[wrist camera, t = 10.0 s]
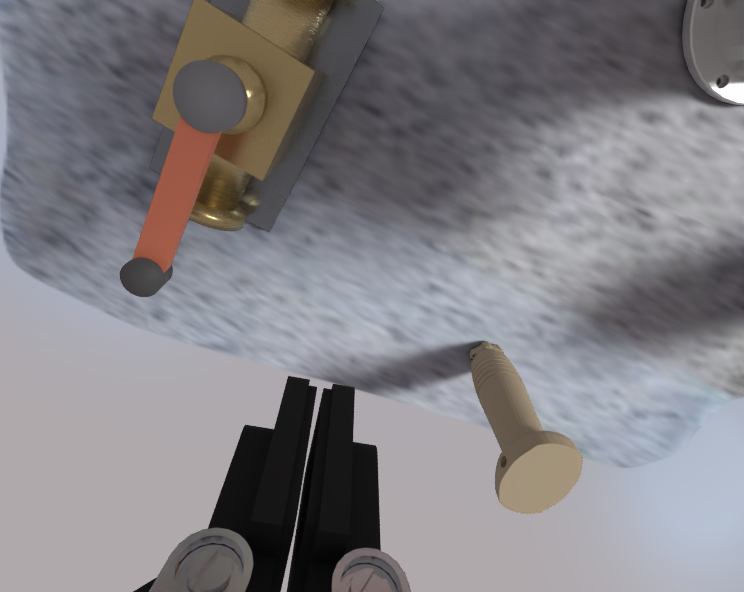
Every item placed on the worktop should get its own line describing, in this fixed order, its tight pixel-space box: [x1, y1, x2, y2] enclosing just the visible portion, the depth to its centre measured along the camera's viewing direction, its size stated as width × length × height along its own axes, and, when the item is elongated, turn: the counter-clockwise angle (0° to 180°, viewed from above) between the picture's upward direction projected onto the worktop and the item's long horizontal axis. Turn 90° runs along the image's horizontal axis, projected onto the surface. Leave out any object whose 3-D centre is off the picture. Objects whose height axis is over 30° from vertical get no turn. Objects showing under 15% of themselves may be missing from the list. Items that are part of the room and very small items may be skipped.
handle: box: [469, 342, 583, 514], centre depth 36 cm, size 5×6×15 cm
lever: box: [120, 60, 247, 297], centre depth 23 cm, size 13×3×2 cm, turn 151°
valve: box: [149, 0, 384, 232], centre depth 28 cm, size 18×10×11 cm, turn 149°
